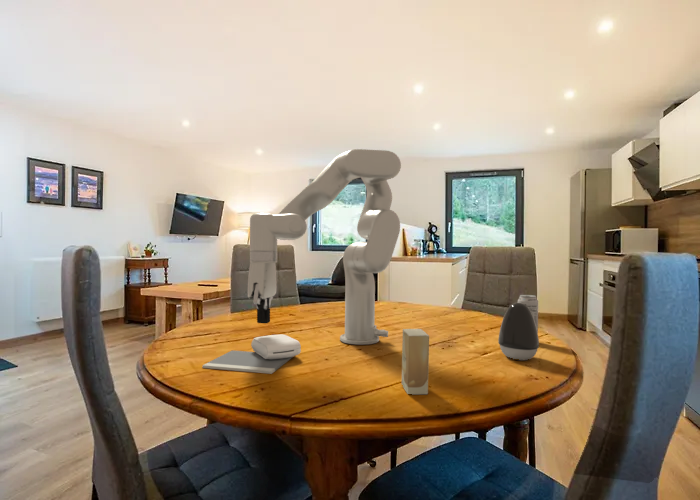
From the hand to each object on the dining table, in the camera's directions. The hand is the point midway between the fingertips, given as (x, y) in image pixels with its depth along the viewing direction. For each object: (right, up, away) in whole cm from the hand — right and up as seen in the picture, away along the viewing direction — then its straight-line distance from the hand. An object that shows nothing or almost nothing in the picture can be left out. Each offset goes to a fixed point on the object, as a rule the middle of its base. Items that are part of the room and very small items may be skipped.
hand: (263, 322), depth 107 cm
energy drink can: (+82, -10, +16) cm, 84 cm away
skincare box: (+38, -9, -27) cm, 47 cm away
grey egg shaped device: (+71, -10, -2) cm, 71 cm away
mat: (-1, -8, -10) cm, 13 cm away
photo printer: (+1, -6, +1) cm, 6 cm away
